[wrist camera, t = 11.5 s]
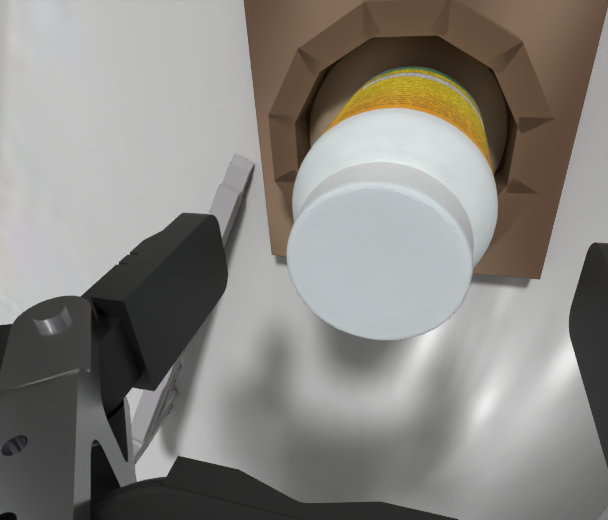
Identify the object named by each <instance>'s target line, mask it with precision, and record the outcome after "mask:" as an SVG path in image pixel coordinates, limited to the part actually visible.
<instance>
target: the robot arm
mask: <svg viewBox="0 0 608 520" xmlns="http://www.w3.org/2000/svg"><path fill="white" fill-rule="evenodd" d="M227 279H228V270H227V264H226V259H225V253H224V248H223V242H222V237H221V231H220V226H219V222H218V220H217V218H216V217H215V216H214V215H211V214H197V213H182V214H180V215H179V216H178V217H177V218H176V219H175V220H174V221H173V222H172V223H171V224H169V225H168V226H167V227H166V228H165V229H164V230H163V231H161V232H159V233H157V234H155V235H153V236H151V237H149V238H147V239H145V240H143V241H142V242H141V243H140V244H139V245H138V246H137V247H136V248H134V249H133V250H132V251H131V252H130V255H127V256H125V257H124V258H123V259H122V260H121V261H120V262H119V265H115V266H114V267H113V268H112V269H111V270H110V271H109V272H108V273H106V274H105V275H104V276H103V277H102V278H101V279H100V280H99V281H97V282H96V283H95V284H94V285H93V286H92V287H91V288H90V289H89V290H87V291H86V292H85V293H84V294H83V295H82V296H81V297H79V296H61V297H56V298H52V299H49V300H46V301H43V302H40V303H38V304H36V305H34V306H32V307H31V308H29V309H27V310H26V311H24V312H23V313H22V314H21V315H20V316H18V318H17V319H16V320H15V321H14V323H13V324H8V325H0V520H458V519H455V518H450V517H446V516H442V515H437V514H433V513H428V512H424V511H419V510H415V509H411V508H406V507H402V506H397V505H393V504H389V503H384V502H346V503H302V502H298V501H296V500H294V499H292V498H290V497H288V496H286V495H284V494H283V493H281V492H279V491H277V490H275V489H273V488H272V487H270V486H268V485H266V484H264V483H262V482H261V481H259V480H257V479H255V478H253V477H251V476H250V475H248V474H246V473H244V472H242V471H240V470H238V469H234V468H229V467H225V466H221V465H216V464H212V463H207V462H203V461H198V460H194V459H190V458H185V457H181V456H178V457H177V459H176V461H175V463H174V464H173V466H172V468H171V470H170V471H169V473H168V475H167V477H160V478H153V479H147V480H143V481H139V482H137V480H136V474H135V463H134V452H133V441H132V429H131V418H130V407H129V403H128V400H127V397H126V395H127V394H128V392H129V391H130V390H131V388H132V387H133V388H139V389H144V390H149V391H155V390H156V389H157V387H158V386H159V384H160V383H161V382H162V380H163V379H164V377H165V376H166V375H167V373H168V372H169V370H170V369H171V367H172V366H173V365H174V363H175V362H176V360H177V359H178V357H179V356H180V355H181V353H182V352H183V350H184V349H185V348H186V346H187V345H188V343H189V342H190V340H191V339H192V338H193V336H194V335H195V333H196V332H197V331H198V329H199V328H200V326H201V325H202V323H203V322H204V321H205V319H206V318H207V316H208V315H209V314H210V312H211V311H212V309H213V308H214V306H215V305H216V304H217V302H218V301H219V299H220V298H221V296H222V295H223V293H224V291H225V289H226V285H227ZM569 333H570V338H571V342H572V345H573V349H574V352H575V356H576V359H577V363H578V366H579V370H580V373H581V377H582V380H583V384H584V387H585V391H586V394H587V397H588V401H589V404H590V408H591V411H592V415H593V418H594V422H595V425H596V429H597V432H598V436H599V439H600V443H601V446H602V450H603V453H604V457H605V460H606V464H607V467H608V243H593V244H592V245H591V246H590V248H589V249H588V252H587V255H586V258H585V261H584V265H583V268H582V271H581V275H580V278H579V281H578V285H577V288H576V292H575V295H574V298H573V302H572V305H571V309H570V316H569ZM598 520H608V507H607V508H606V509H605V511H604V512H603V513H602V514H601V516H600V517H599V518H598Z"/></svg>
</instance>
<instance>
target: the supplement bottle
mask: <svg viewBox="0 0 608 520" xmlns="http://www.w3.org/2000/svg"><path fill="white" fill-rule="evenodd" d="M292 210H293V219H294V224H293V227H292V229H291V232H290V235H289V239H288V243H287V250H286V256H287V267H288V271H289V275H290V278H291V281H292V284H293V286H294V288H295V290H296V292H297V293H298V295H299V296H300V298H301V299H302V300H303V302H304V303H305V304H306V305H307V306H308V307H309V308H310V310H311V311H312V312H313V313H314V314H315V315H317V316H318V317H319V318H320V319H322V320H323V321H324V322H326V323H328V324H330V325H331V326H333V327H335V328H336V329H338V330H341V331H344V332H346V333H348V334H351V335H355V336H358V337H362V338H367V339H372V340H402V339H407V338H411V337H415V336H419V335H422V334H424V333H427V332H429V331H431V330H433V329H435V328H437V327H438V326H440V325H441V324H442V323H444V322H445V321H446V320H448V319H449V318H450V317H451V316H452V315H453V314H454V313H455V312H456V310H457V309H458V308H459V307H460V305H461V304H462V302H463V301H464V299H465V297H466V295H467V293H468V290H469V287H470V284H471V280H472V275H473V268H474V267H475V266H476V265H477V264H478V262H479V261H480V259H481V258H482V257H483V255H484V253H485V252H486V250H487V248H488V246H489V244H490V242H491V239H492V237H493V234H494V230H495V227H496V222H497V215H498V198H497V189H496V183H495V179H494V174H493V169H492V165H491V160H490V155H489V150H488V145H487V139H486V134H485V128H484V123H483V119H482V116H481V113H480V111H479V108H478V106H477V104H476V102H475V101H474V99H473V98H472V96H471V95H470V94H469V92H468V91H467V90H466V89H465V88H464V87H463V86H462V85H461V84H460V83H459V82H458V81H456V80H455V79H454V78H452V77H451V76H449V75H447V74H446V73H444V72H442V71H439V70H436V69H433V68H429V67H423V66H403V67H397V68H393V69H390V70H387V71H385V72H383V73H381V74H379V75H377V76H375V77H374V78H372V79H371V80H369V81H368V82H367V83H365V84H364V85H363V86H362V87H361V88H360V89H359V90H358V91H357V92H356V93H355V94H354V95H353V96H352V98H351V99H350V100H349V101H348V102H347V104H346V105H345V106H344V107H343V109H342V110H341V111H340V112H339V114H338V115H337V116H336V117H335V118H334V120H333V121H332V123H331V124H330V125H329V126H328V128H327V129H326V130H325V131H324V132H323V133H322V135H321V136H320V137H319V138H318V139H317V140H316V142H315V143H314V144H313V146H312V147H311V149H310V150H309V152H308V154H307V155H306V157H305V159H304V160H303V162H302V164H301V166H300V169H299V171H298V174H297V177H296V180H295V184H294V189H293V197H292Z"/></svg>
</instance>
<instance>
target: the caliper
mask: <svg viewBox="0 0 608 520" xmlns="http://www.w3.org/2000/svg"><path fill="white" fill-rule="evenodd" d="M253 167H254V163H252V162H250V161H248V160H246V159H244V158H241V157H239V156H237V155H234V156H233V159H232V161H231V162H230V165H229V167H228V170H227V173H226V176H225V178H224V181H223V182H222V183H221V184H220V185H219V187H218V190H217V192H216V195H215V198H214V201H213V204H212V206H211V209H210V212H209V214H211V215H214V216H215V217H216V218H217V220H218V222H219V226H220V231H221V237H222V242H223V248H225V245H226V243H227V240H228V237H229V235H230V232H231V230H232V227H233V225H234V222H235V219H236V217H237V214H238V212H239V209H240V206H241V203H242V200H243V197H244V194H245V191H246V185H247V183H248V180H249V178H250V175H251V172H252V170H253ZM184 351H185V349H184V350H183V352H182V353H181V355H180V356H179V357H178V359H177V360H176V362H175V363H174V365H173V366H172V367H171V369H170V370H169V372H168V373H167V375H166V376H165V377H164V379H163V380H162V382H161V383H160V384H159V386H158V387H157V389H156V390H155V391H149V390H144V391H143V393H142V396H141V399H140V402H139V405H138V407H137V410H136V413H135V416H134V418H133V421H132V424H131V429H132V441H133V452H134V463H135V464H136V463H137V461H138V460H139V459H140V457H141V456H142V454H143V453H144V451H145V450H146V449H147V447H148V446H149V444H150V442H151V441H152V439H153V438H154V436H155V435H156V433H157V431H158V430H159V428H160V427H161V425H162V424H163V422H164V420H165V419H166V417H167V416H168V414H169V412H170V410H171V408H172V405H170V404H171V402H172V400H173V399H174V398H175V396H176V395H177V392H178V391H176V390H174V389H172V388H173V386H174V383H175V381H176V377H177V375H178V373H179V371H180V368H181V366H182V365H181V364H180V361H181V359H182V356H183V353H184Z"/></svg>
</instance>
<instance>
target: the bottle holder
mask: <svg viewBox="0 0 608 520" xmlns="http://www.w3.org/2000/svg"><path fill="white" fill-rule="evenodd" d="M244 7H245V16H246V25H247V34H248V43H249V52H250V61H251V70H252V79H253V88H254V98H255V107H256V116H257V125H258V134H259V143H260V152H261V161H262V170H263V179H264V188H265V197H266V207H267V216H268V225H269V234H270V243H271V252H272V255H277V256H286V250H287V243H288V239H289V235H290V232H291V229H292V227H293V224H294V219H293V210H292V197H293V189H294V184H295V180H296V177H297V174H298V171H299V169H300V166H301V164H302V162H303V160H304V159H305V157H306V155H307V154H308V152H309V150H310V149H311V147H312V146H313V144H314V143H315V142H316V140H317V139H318V138H319V137H320V136H321V135H322V133H323V132H324V131H325V130H326V129H327V128H328V126H329V125H330V124H331V123H332V121H333V120H334V118H335V117H336V116H337V115H338V114H339V112H340V111H341V110H342V109H343V107H344V106H345V105H346V104H347V102H348V101H349V100H350V99H351V98H352V96H353V95H354V94H355V93H356V92H357V91H358V90H359V89H360V88H361V87H362V86H363V85H364V84H365V83H367V82H368V81H369V80H371V79H372V78H374V77H375V76H377V75H379V74H381V73H383V72H385V71H387V70H390V69H393V68H397V67H403V66H423V67H429V68H433V69H436V70H439V71H442V72H444V73H446V74H447V75H449V76H451V77H452V78H454V79H455V80H456V81H458V82H459V83H460V84H461V85H462V86H463V87H464V88H465V89H466V90H467V91H468V92H469V94H470V95H471V96H472V98H473V99H474V101H475V102H476V104H477V106H478V108H479V111H480V113H481V116H482V119H483V123H484V128H485V134H486V139H487V145H488V150H489V155H490V160H491V165H492V169H493V174H494V179H495V183H496V189H497V198H498V215H497V222H496V227H495V230H494V234H493V237H492V239H491V242H490V244H489V246H488V248H487V250H486V252H485V253H484V255H483V257H482V258H481V259H480V261H479V262H478V264H477V265H476V266H475V267H474V268H473V273H476V274H487V275H498V276H509V277H520V278H531V279H540V277H541V273H542V269H543V265H544V261H545V257H546V253H547V249H548V245H549V241H550V237H551V233H552V229H553V225H554V221H555V217H556V213H557V209H558V205H559V201H560V197H561V193H562V189H563V185H564V181H565V177H566V173H567V169H568V165H569V161H570V157H571V153H572V148H573V144H574V140H575V136H576V132H577V128H578V124H579V120H580V116H581V112H582V108H583V104H584V100H585V96H586V92H587V88H588V84H589V80H590V76H591V72H592V68H593V64H594V60H595V56H596V52H597V48H598V44H599V40H600V36H601V32H602V28H603V24H604V20H605V16H606V12H607V8H608V0H244Z"/></svg>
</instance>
